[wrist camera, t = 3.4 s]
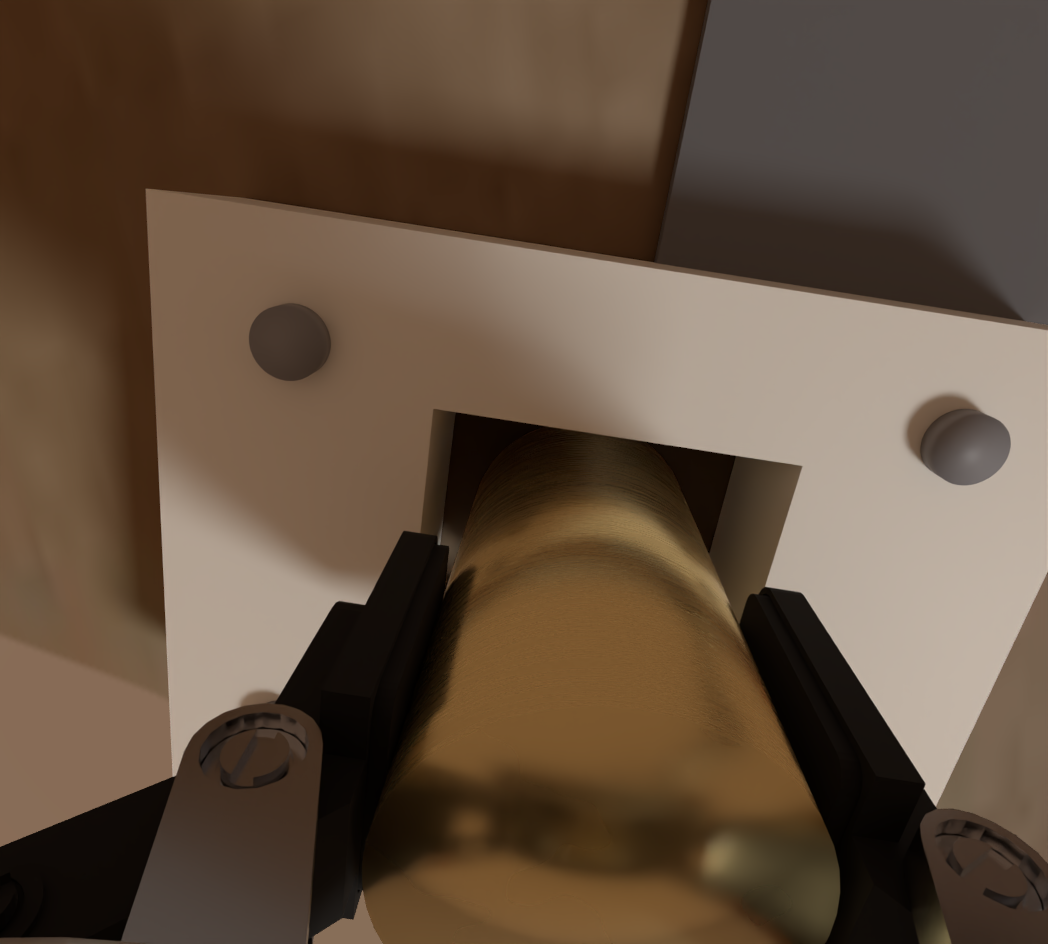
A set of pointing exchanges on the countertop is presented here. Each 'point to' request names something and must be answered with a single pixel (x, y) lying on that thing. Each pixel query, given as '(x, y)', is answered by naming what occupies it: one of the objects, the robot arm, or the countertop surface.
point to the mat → (870, 151)
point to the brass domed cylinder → (592, 732)
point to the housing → (587, 406)
